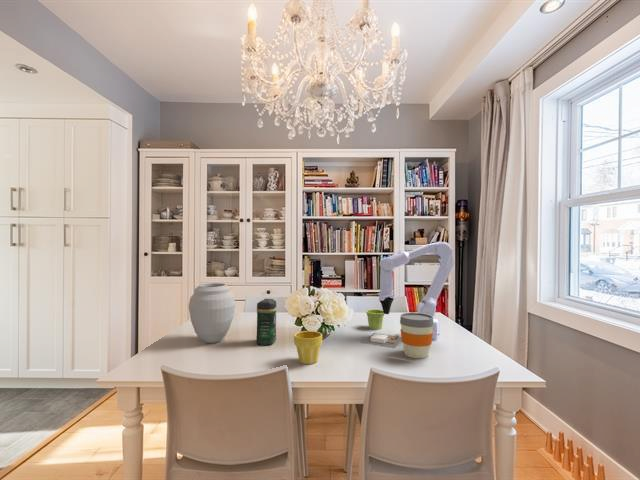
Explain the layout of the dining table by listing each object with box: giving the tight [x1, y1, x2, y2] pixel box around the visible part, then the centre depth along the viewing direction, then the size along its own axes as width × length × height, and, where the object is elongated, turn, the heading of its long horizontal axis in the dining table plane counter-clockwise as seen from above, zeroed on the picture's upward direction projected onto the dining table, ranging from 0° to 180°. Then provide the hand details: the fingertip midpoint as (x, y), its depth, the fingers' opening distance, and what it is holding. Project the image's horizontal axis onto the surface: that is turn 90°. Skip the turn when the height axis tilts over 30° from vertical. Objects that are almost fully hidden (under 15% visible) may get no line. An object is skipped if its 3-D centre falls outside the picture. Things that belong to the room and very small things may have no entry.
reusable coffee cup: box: [399, 312, 434, 359], centre depth 132 cm, size 12×13×15 cm
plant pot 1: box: [293, 330, 323, 365], centre depth 126 cm, size 10×10×10 cm
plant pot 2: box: [365, 308, 385, 331], centre depth 170 cm, size 9×9×9 cm
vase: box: [188, 282, 236, 344], centre depth 150 cm, size 20×20×24 cm
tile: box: [371, 333, 389, 344], centre depth 149 cm, size 6×2×6 cm
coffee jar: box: [256, 298, 277, 346], centre depth 148 cm, size 10×8×19 cm
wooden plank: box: [386, 333, 400, 344], centre depth 150 cm, size 11×3×1 cm, turn 151°
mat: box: [360, 332, 403, 349], centre depth 150 cm, size 15×17×1 cm
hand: (386, 313), depth 157 cm, fingers closed
